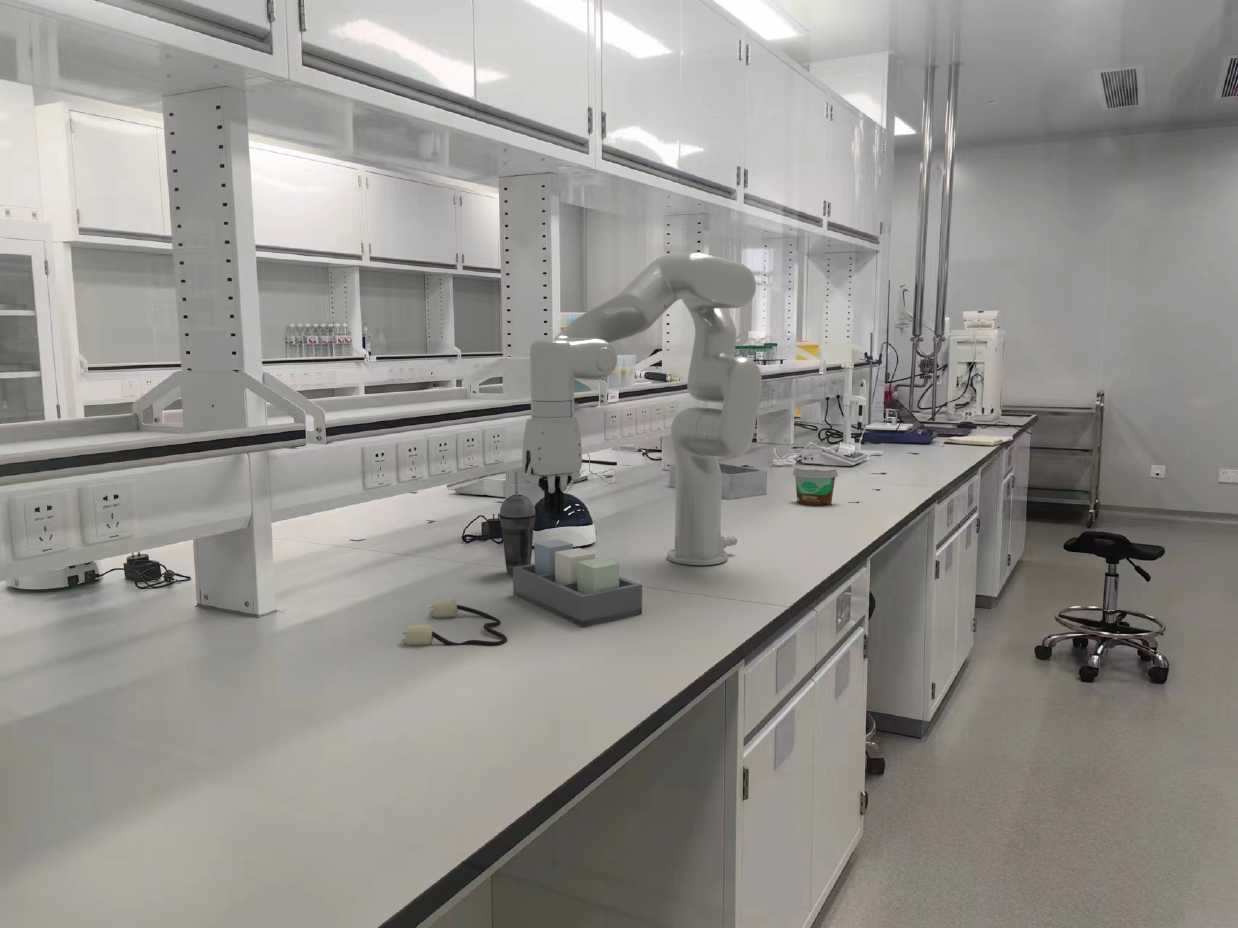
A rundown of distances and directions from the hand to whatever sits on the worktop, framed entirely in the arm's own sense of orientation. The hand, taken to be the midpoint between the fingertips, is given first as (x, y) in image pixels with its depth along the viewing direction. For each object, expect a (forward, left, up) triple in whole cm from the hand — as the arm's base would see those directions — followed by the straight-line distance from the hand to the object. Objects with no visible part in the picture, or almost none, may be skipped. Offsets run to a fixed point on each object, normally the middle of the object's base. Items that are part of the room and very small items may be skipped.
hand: (554, 513), depth 157 cm
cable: (+22, +8, -16) cm, 28 cm away
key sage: (0, +14, -12) cm, 19 cm away
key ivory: (0, +7, -12) cm, 14 cm away
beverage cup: (-2, -16, -15) cm, 22 cm away
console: (0, +7, -15) cm, 16 cm away
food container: (-104, -31, -15) cm, 109 cm away
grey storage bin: (-98, -64, -15) cm, 118 cm away
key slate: (0, 0, -11) cm, 11 cm away
